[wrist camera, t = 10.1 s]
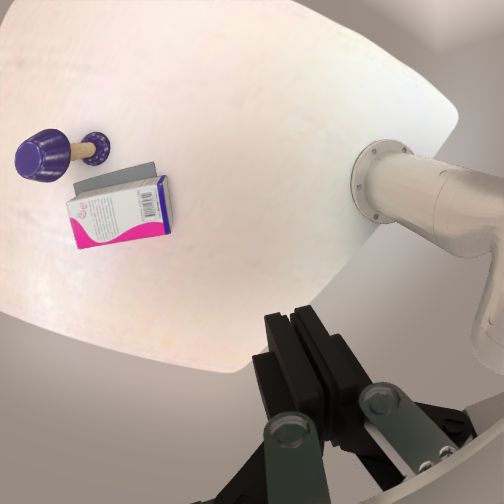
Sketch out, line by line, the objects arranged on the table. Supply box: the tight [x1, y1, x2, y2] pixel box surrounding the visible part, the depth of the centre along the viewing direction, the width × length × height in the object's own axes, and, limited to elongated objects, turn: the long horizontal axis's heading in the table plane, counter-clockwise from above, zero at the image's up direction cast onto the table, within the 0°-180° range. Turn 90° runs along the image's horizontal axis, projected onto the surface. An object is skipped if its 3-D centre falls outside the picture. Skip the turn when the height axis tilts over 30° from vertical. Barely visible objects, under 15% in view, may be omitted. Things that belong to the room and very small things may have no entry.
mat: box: [73, 162, 157, 196], centre depth 35 cm, size 11×7×1 cm, turn 99°
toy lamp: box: [15, 129, 110, 183], centre depth 24 cm, size 5×5×17 cm
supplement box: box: [66, 175, 173, 249], centre depth 32 cm, size 6×6×12 cm
